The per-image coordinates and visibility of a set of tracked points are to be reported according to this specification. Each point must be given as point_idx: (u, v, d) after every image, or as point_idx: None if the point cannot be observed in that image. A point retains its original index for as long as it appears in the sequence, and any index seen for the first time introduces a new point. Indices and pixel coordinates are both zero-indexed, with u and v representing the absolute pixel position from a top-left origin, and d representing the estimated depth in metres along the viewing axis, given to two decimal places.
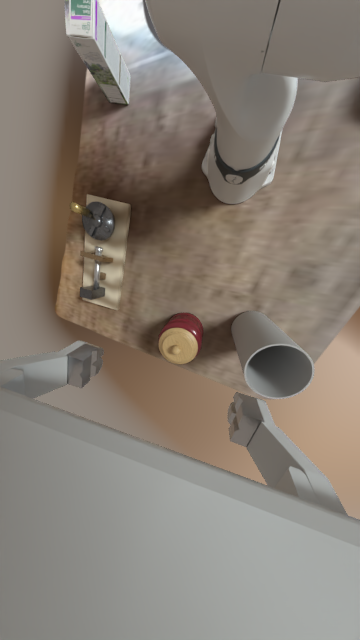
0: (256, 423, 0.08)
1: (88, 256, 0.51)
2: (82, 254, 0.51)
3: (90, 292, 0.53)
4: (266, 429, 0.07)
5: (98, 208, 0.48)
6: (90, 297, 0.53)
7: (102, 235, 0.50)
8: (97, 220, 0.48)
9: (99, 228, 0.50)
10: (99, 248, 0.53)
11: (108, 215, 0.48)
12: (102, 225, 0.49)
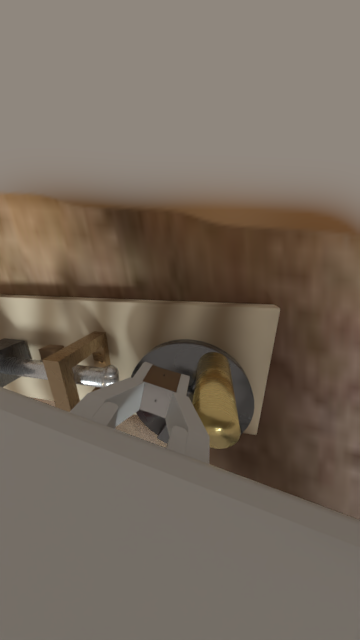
0: (169, 394, 0.08)
1: (55, 390, 0.13)
2: (50, 368, 0.13)
3: None
4: (174, 398, 0.08)
5: None
6: None
7: None
8: None
9: None
10: None
11: None
12: None
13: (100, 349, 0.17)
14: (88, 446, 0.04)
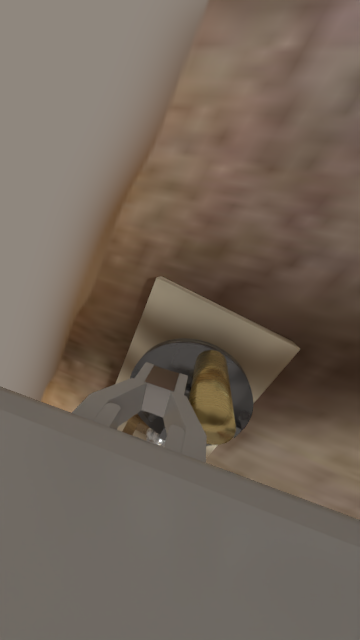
0: (167, 393, 0.08)
1: None
2: None
3: None
4: (172, 398, 0.08)
5: None
6: None
7: None
8: None
9: None
10: (162, 444, 0.17)
11: None
12: None
13: (141, 425, 0.20)
14: (88, 446, 0.04)
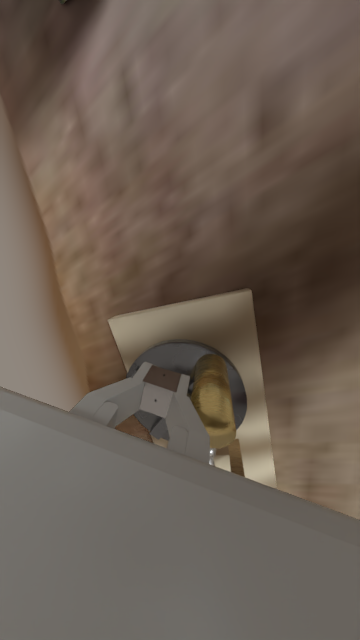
0: (169, 394, 0.08)
1: None
2: None
3: None
4: (174, 398, 0.08)
5: None
6: None
7: None
8: None
9: None
10: None
11: None
12: None
13: None
14: (88, 446, 0.04)
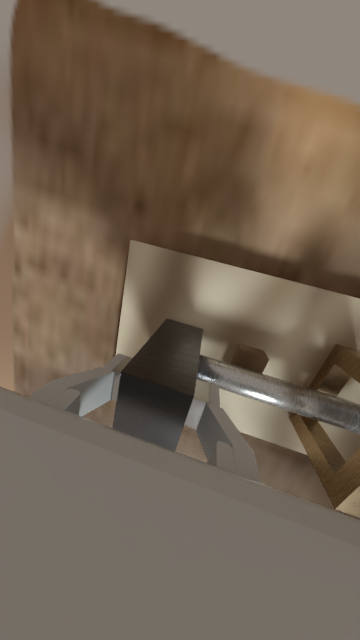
0: (202, 405, 0.08)
1: None
2: None
3: None
4: (210, 410, 0.07)
5: None
6: None
7: None
8: None
9: None
10: None
11: None
12: None
13: (346, 373, 0.12)
14: (88, 446, 0.04)
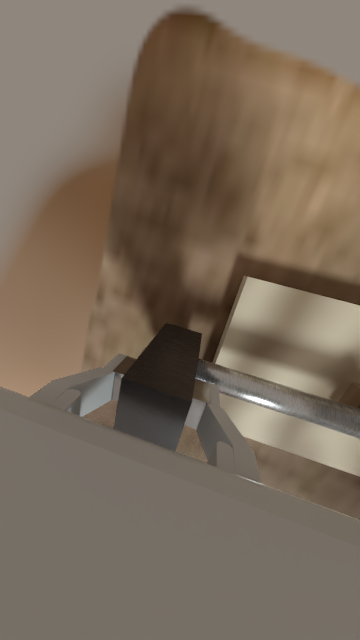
0: (202, 405, 0.08)
1: None
2: None
3: None
4: (210, 410, 0.07)
5: None
6: None
7: None
8: None
9: None
10: None
11: None
12: None
13: None
14: (88, 446, 0.04)
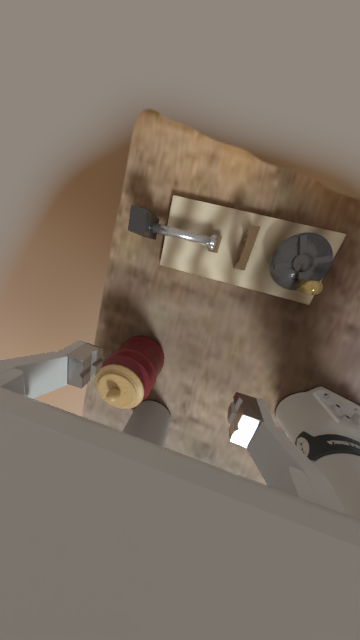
0: (256, 423, 0.08)
1: (248, 242, 0.29)
2: (254, 229, 0.29)
3: (140, 230, 0.30)
4: (266, 430, 0.07)
5: (282, 273, 0.32)
6: (132, 229, 0.31)
7: (316, 242, 0.29)
8: (301, 260, 0.30)
9: (309, 253, 0.30)
10: (213, 245, 0.33)
11: (280, 253, 0.31)
12: (301, 250, 0.29)
13: None
14: (88, 446, 0.04)
